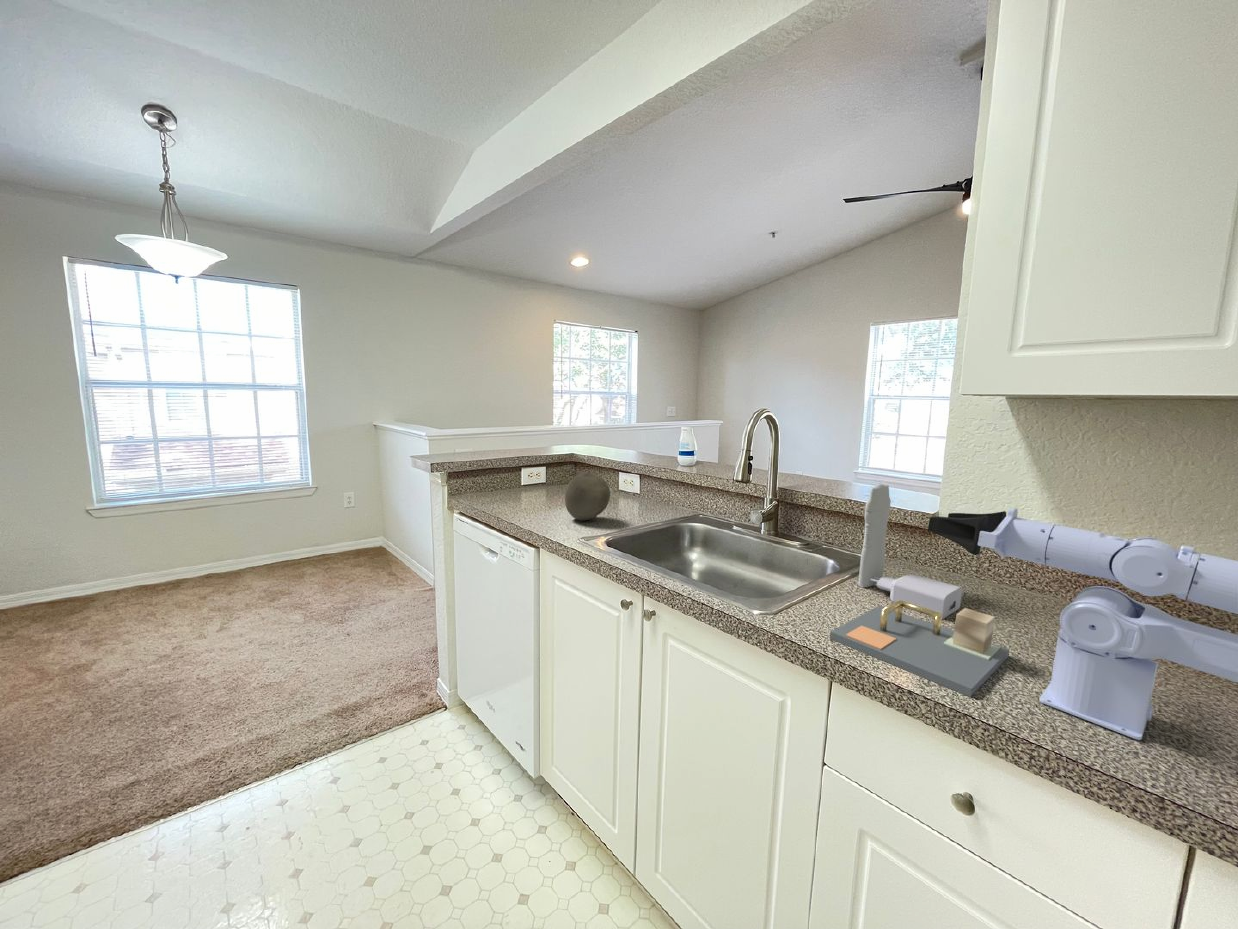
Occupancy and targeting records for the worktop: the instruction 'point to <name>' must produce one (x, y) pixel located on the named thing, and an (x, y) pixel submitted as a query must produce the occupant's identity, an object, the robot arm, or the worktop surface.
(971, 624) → the block
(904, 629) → the board
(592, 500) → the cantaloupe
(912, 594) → the charger
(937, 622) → the brass corner pipe rail
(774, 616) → the worktop surface
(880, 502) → the grey tall flat piece
